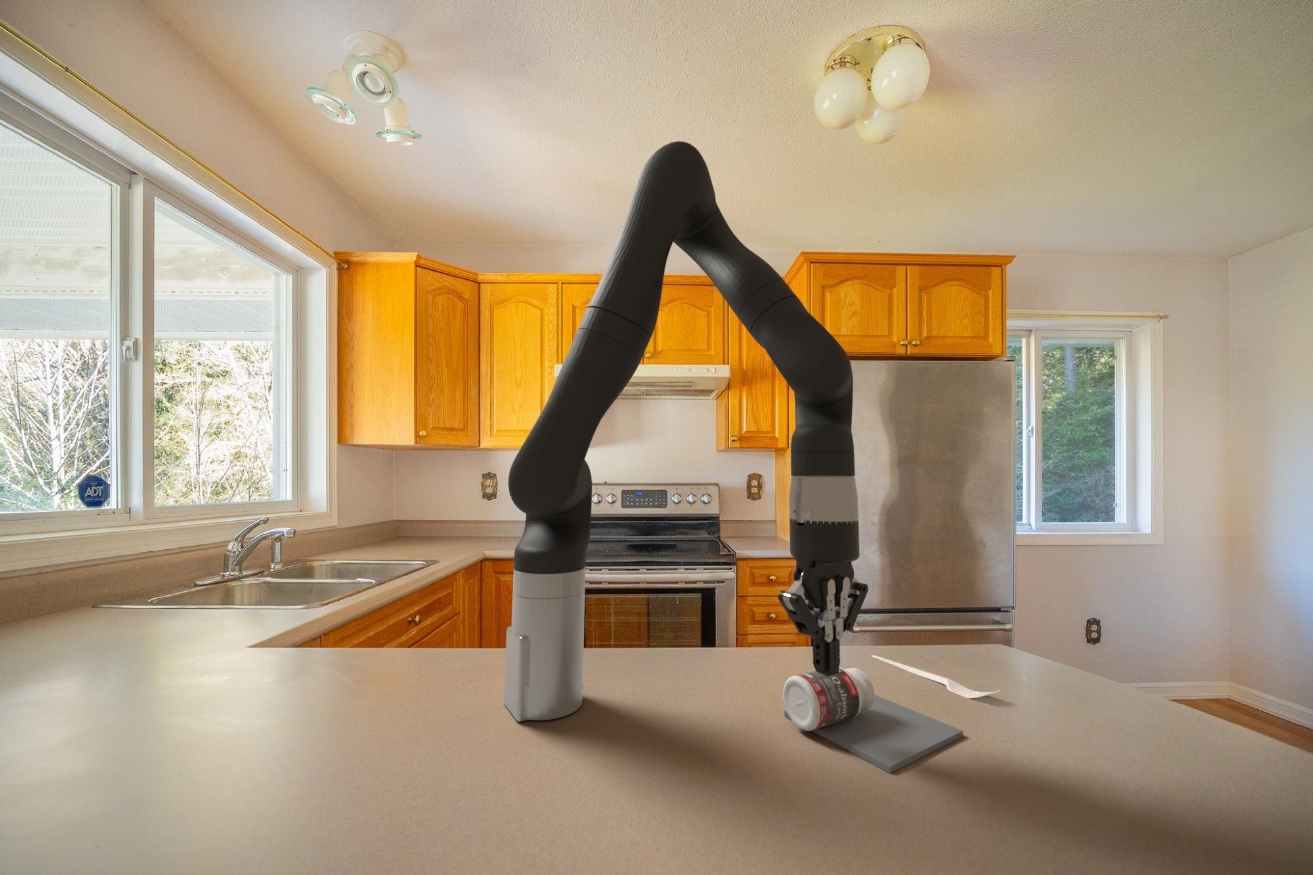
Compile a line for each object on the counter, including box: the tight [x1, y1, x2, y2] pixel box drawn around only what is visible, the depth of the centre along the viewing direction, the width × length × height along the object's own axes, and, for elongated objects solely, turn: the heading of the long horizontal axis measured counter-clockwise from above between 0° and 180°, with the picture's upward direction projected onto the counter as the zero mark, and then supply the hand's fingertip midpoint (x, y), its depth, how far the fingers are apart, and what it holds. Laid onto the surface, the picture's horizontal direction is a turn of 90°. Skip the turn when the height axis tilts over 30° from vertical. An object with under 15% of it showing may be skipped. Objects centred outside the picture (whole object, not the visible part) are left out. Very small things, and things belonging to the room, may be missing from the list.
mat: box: [783, 694, 964, 774], centre depth 59 cm, size 14×14×1 cm
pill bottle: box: [782, 666, 876, 732], centre depth 59 cm, size 6×6×10 cm
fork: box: [871, 654, 1001, 699], centre depth 74 cm, size 3×20×2 cm, turn 25°
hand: (826, 672), depth 55 cm, fingers closed
